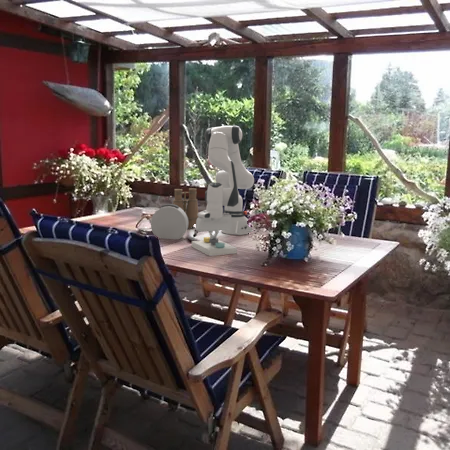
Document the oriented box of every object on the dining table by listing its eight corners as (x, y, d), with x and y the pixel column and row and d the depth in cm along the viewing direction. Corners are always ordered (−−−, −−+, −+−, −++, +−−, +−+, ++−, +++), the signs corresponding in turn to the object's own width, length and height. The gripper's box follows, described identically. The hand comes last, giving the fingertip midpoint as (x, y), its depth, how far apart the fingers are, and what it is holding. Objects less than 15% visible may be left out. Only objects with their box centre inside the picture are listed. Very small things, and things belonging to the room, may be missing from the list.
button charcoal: (215, 245, 288) (215, 237, 288) (219, 247, 284) (220, 239, 283) (207, 246, 286) (207, 238, 285) (211, 248, 282) (212, 240, 281)
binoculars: (194, 224, 353) (195, 187, 348) (202, 227, 345) (203, 189, 340) (167, 227, 341) (167, 188, 336) (174, 230, 333) (175, 190, 328)
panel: (217, 244, 299) (217, 239, 298) (236, 253, 280) (236, 247, 279) (191, 246, 291) (191, 241, 290) (209, 255, 272) (210, 250, 272)
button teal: (221, 250, 283) (221, 242, 282) (225, 252, 278) (226, 244, 278) (213, 251, 280) (213, 242, 279) (217, 253, 276) (218, 244, 275)
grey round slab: (188, 237, 315) (189, 204, 311) (186, 239, 308) (186, 206, 304) (153, 235, 317) (153, 202, 313) (150, 237, 310) (150, 204, 306)
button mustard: (209, 245, 295) (209, 236, 294) (213, 246, 290) (213, 238, 290) (201, 245, 292) (202, 237, 291) (205, 247, 288) (206, 239, 287)
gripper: (228, 211, 289) (227, 236, 292) (194, 213, 279) (194, 238, 282) (234, 213, 284) (233, 238, 286) (200, 215, 274) (199, 241, 277)
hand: (213, 238), depth 284 cm, fingers closed, pressing on button charcoal
